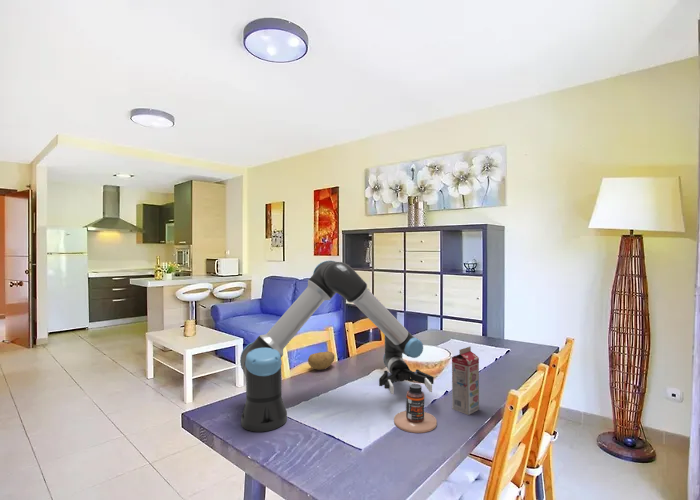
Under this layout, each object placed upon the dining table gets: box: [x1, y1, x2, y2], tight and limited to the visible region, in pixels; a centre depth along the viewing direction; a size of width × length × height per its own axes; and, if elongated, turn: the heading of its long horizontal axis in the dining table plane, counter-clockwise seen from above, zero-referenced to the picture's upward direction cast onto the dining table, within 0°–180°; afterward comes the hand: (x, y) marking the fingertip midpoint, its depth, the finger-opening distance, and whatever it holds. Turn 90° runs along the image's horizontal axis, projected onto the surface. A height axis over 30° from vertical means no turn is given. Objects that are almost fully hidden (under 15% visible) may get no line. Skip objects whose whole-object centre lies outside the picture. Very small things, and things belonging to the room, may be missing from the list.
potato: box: [307, 351, 336, 371], centre depth 181 cm, size 10×14×8 cm
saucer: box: [393, 410, 438, 434], centre depth 126 cm, size 14×14×1 cm
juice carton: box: [451, 346, 480, 416], centre depth 135 cm, size 7×7×22 cm
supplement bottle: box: [405, 383, 425, 423], centre depth 126 cm, size 6×6×11 cm
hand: (411, 389), depth 131 cm, fingers open, 13 cm apart
